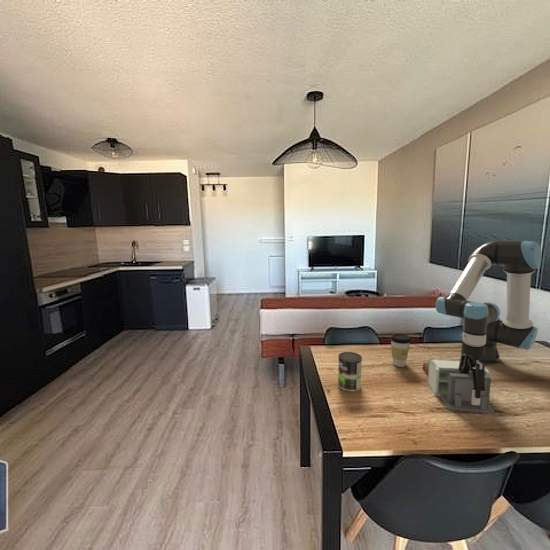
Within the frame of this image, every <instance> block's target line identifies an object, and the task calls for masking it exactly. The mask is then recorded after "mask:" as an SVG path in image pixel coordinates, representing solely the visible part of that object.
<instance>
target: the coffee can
mask: <svg viewBox="0 0 550 550" xmlns="http://www.w3.org/2000/svg"><path fill="white" fill-rule="evenodd" d="M337 357H338V369H337V370H338V371H337V372H338V373H337V374H338V376H337V377H338V378H337V386H338V388H339V389H341V390H343V391H346V392H357V391H359V390H360V389H362V364H363V363H362V361H363V356H362V355H361V354H359V353H357V352H353V351H344V352H339V354H338V356H337Z"/></svg>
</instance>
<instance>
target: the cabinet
mask: <svg viewBox="0 0 550 550" xmlns="http://www.w3.org/2000/svg"><path fill="white" fill-rule="evenodd" d="M428 363H429V368H428V377H427V386H428V387H429V389H430V390H431V392H432V393H433V395H434V396H435V397H440V398H441V400H442V402H443V403H444V405H445V406H446V408H447V409H448V410H449V411H458V412H459V411H460V412H472V411H473V412H475V413H486V412H489V413H490V414H495V410H494V408H493V407H492V406H491V405H490V404H488V407H487V400H488V397H487V396H481V399H480V406H469V405H461V403H462V395H461V394H455V404H449V403H448V401H447V394H448V382H449V373H458V374H460V371H459V370H458V368H459V363H460V359H459V360H458V359H457V360H456V359H436V358H429V359H428ZM461 368H462V367H461ZM475 369H476V368H475ZM469 374H472V372H471V370H469ZM484 375H488V376H489V377H490V375H491V372H490V370H488V369H487V368H486V367H485V369H484ZM490 378H491V377H490ZM489 413H488V414H489Z"/></svg>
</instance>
